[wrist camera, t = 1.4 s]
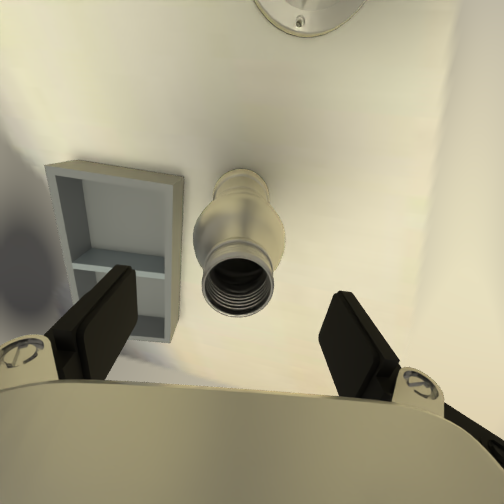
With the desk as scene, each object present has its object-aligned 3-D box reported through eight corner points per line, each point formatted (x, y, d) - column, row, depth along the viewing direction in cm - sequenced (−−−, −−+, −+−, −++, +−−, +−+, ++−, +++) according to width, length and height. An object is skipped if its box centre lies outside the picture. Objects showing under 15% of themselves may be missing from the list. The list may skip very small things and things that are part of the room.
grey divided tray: (76, 159, 27) (44, 165, 23) (184, 176, 28) (173, 185, 24) (99, 310, 37) (79, 335, 32) (178, 318, 38) (170, 343, 34)
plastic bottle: (217, 220, 31) (181, 341, 13) (212, 165, 28) (158, 225, 10) (267, 219, 31) (298, 337, 13) (267, 164, 28) (310, 221, 10)
